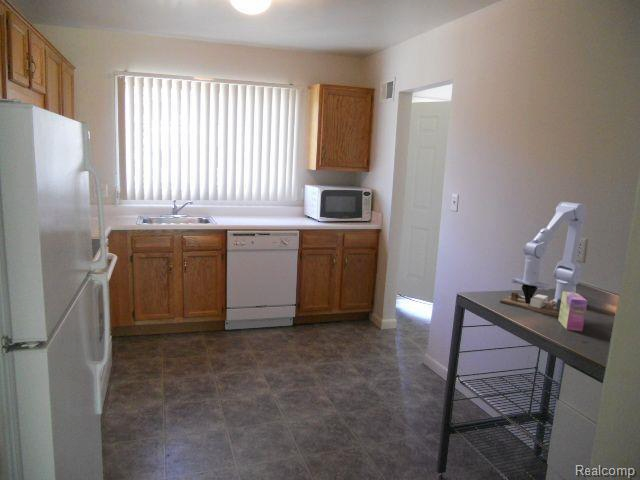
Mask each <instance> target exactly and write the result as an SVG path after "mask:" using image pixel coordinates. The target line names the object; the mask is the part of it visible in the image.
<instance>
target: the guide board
mask: <svg viewBox="0 0 640 480" xmlns="http://www.w3.org/2000/svg"><path fill="white" fill-rule="evenodd" d="M517 295H519V291H515V290H514V291H512V292H511V295H508V296H506V297H504V298H502V299H500V300H499V303H500V304H505V305H508V306H512V307H516V308H521V309H523V310H524V309H525V310H530V311H532V312H533V311H534V312H537V313H542V314H546V315H549V316H550V315H551V316H555V317H558V318H559V312H558V311H556V308H557V307H556V306H554V307H553V308H552V307H549V305H548V304H546V305H545V306H543V307H541V308H536V307H532V306H530V303H529V304H528V303H525V299H521V298H517Z"/></svg>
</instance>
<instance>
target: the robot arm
mask: <svg viewBox="0 0 640 480" xmlns="http://www.w3.org/2000/svg"><path fill="white" fill-rule="evenodd" d="M587 211H588V209H587V207H586V205H585V204H584V203H577V202H567V201H560V202H559V204H558V205H557V206H556V208H555V214H554V215H553V217H552V219H551V220H550V222H549V223H548V224H547V226H546V227H545V228H541V229H540V230H539V231H538V233H537V234H536V235H535V236H534V238H533V239H532V240H531V241H530V242H529V241H528V242H527V243H526V244H525V245H524V247H523V254H524V259H525V261H524V262H525V263H524V270H523V278H519V277H512V278H511V283H512V284H519V285H522V286H521V289H522V292H523V296H525V303H528V304H529V303H530V301H531V298H532V297H534V296H535V295H534V294H535V293H536V292H537V290H538V289H543V290H545V291H548V290H550V286H551V285H550V284H547V283H544V282H540V281H539V276H540V271H541V270H540V269H541V262H542V257H544V256H545V254H546V250H547V248H548V245H549V244H550V243H551V241H552V240H553V239H554V237H555V234H554V233H555V232H556V231H557V230H558V229H559V227H561V225H563V223H565V222H567V224H568V229H567V235H566V239H565V245H564V251H563V254H562V255H563V256H562V260H559V261H558V262H557V263H556V266H555V269H554V270H553V277H554V279H555V282H556V287H555V288H556V289H555V293H554V298H553V299H551V300H552V301H554V303H557V301H558V299H559V298H560V297H561V298H562V292H563V291H564V292H575V293H577V292H576V291H577V287H576V286H577V285H578V284H579V283H580V282H581V280H582V266H581V265H580V264H579V263H578V261H577V260H578V254H579V248H580V244H581V237H582V234H583V227H584V224H585V222H586V218H587V213H588V212H587Z"/></svg>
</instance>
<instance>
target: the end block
mask: <svg viewBox="0 0 640 480" xmlns="http://www.w3.org/2000/svg"><path fill="white" fill-rule="evenodd" d="M561 299H562V298H561V297H560V298H559V299H558V301H557V308H556V311H558V312H560V305H561Z"/></svg>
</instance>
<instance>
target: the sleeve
mask: <svg viewBox="0 0 640 480" xmlns="http://www.w3.org/2000/svg"><path fill="white" fill-rule="evenodd" d="M548 299H549V296H548V295H544V294H535V295H533V297H532V298H531V301H530V306H532V307H536V308H541V307H543V306H545V305H546V304H543V302H544V301H547V302H548Z"/></svg>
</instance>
